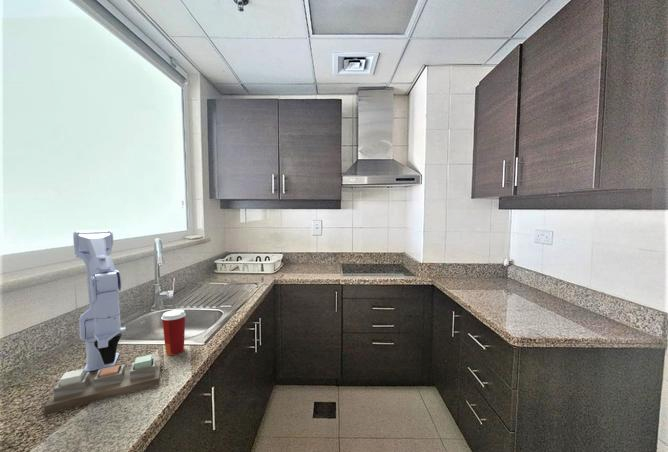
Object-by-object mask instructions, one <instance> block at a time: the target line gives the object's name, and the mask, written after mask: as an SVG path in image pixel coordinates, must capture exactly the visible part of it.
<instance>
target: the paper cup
mask: <svg viewBox="0 0 668 452" xmlns="http://www.w3.org/2000/svg"><path fill="white" fill-rule="evenodd" d="M186 316H187V314H186V312H185V310H184V309H173V310H168V311H165V312H163V313H162V316H161V318H160V319H161V320H162V331H163V339H164V340H163V341H164V349H165V354H166V355H167V356H174V355H179V354H180V353H181V354H182V353H183V352H184V351H185V350H184V349H185V330H186V329H185V327H186Z"/></svg>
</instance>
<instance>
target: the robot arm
mask: <svg viewBox="0 0 668 452" xmlns="http://www.w3.org/2000/svg"><path fill="white" fill-rule="evenodd" d="M72 237H73V249H74V255H75V258H76V259H77V258H78V259H81V260H82V261H83V262H84V266H85V271H86V272H85V273H86V281H87V283H86V284H87V294H88V295H87V296H88V305H89V308H88V309H87V310H85V311H84V312H83V313H82V314H81V315H80V317H79V319H78V320H79V321H78V322H79V323H78V331H79V332H78V333H79V339H80V340H81V341H82V342H84V341H85V353H86V357H85V359H86V364H85V366H84V368H83V369H84V373H85V372H93V371H97V370H99V369H103V368H108V367H112V366H116V363H117V361H118V359H119V355H120V353H119V352H117V349H118V344H119V342H120V340H121V337H122V336H123V335H122V333H123V332H126V329H127V328H126V326H123V327H121V308H120V291H121V290H122V277H121V273H120V271H119V270H118V269H116V267H115V264H114V260H113V258H112V257H111V256H110V255H111V254H112V253H111V252H112V250H113V246H114V233H113V231H112V230H111V229H99V230H79V231H78V230H75V231H74V232H73V235H72Z"/></svg>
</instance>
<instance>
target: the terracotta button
mask: <svg viewBox="0 0 668 452" xmlns="http://www.w3.org/2000/svg"><path fill="white" fill-rule="evenodd" d="M120 365H121V364H117V365H115V366H112V367H108V368H103V369H102V371H101V373H100V375H99V378H100V377H105V376H109V375H114V374H118V373H119V372H120Z"/></svg>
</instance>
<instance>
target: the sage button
mask: <svg viewBox="0 0 668 452" xmlns="http://www.w3.org/2000/svg"><path fill="white" fill-rule="evenodd" d="M152 358H153V354H147V355H142V356H138V357H135V359H134V362H135V364H134V365H135V370H136V369H141V368H145V367H149V366H152Z"/></svg>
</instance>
